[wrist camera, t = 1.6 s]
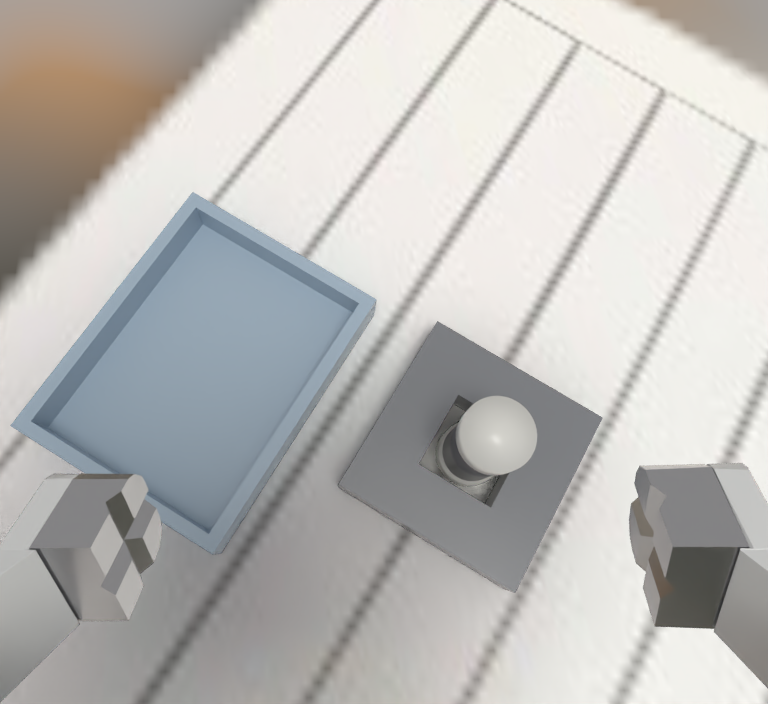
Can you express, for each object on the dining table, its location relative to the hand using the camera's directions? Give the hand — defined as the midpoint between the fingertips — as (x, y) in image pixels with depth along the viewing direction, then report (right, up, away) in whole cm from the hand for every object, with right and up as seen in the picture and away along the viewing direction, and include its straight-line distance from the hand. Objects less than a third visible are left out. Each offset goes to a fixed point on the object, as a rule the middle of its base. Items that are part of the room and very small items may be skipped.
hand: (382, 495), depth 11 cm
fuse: (+5, -4, +32) cm, 33 cm away
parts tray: (-11, +1, +32) cm, 34 cm away
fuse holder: (+5, -4, +32) cm, 33 cm away
